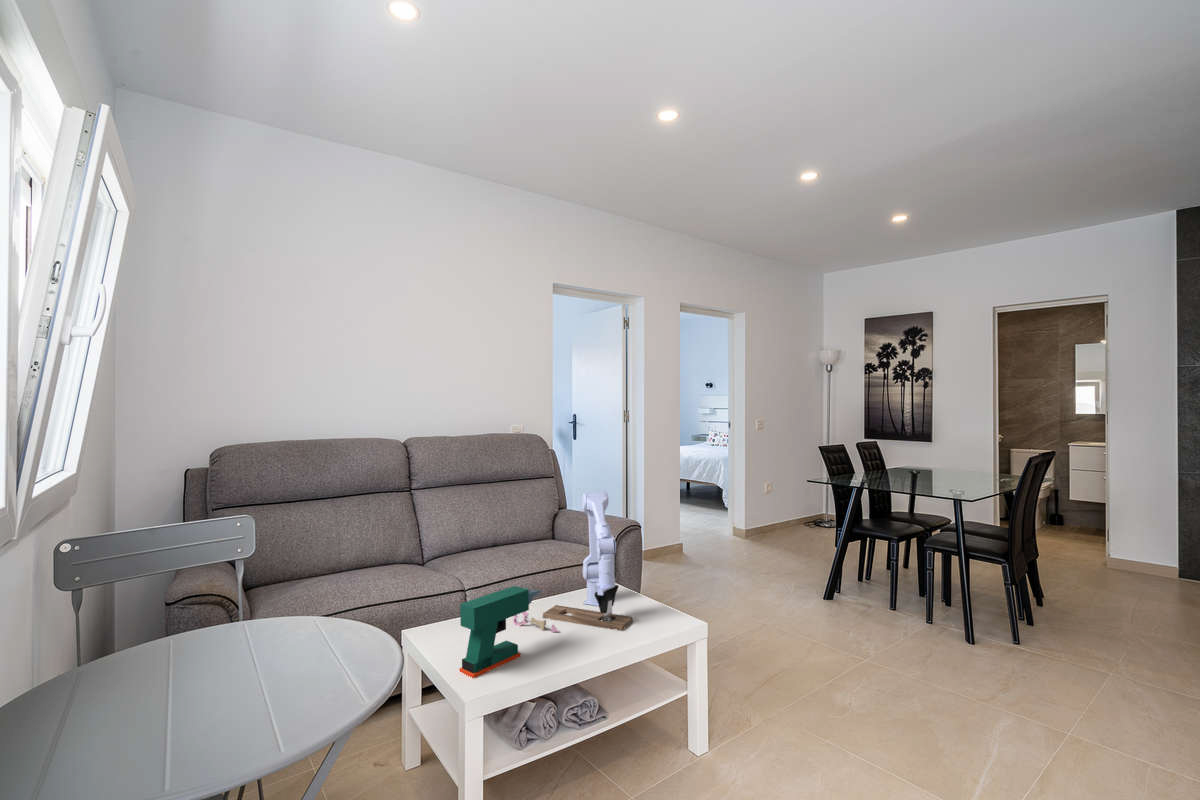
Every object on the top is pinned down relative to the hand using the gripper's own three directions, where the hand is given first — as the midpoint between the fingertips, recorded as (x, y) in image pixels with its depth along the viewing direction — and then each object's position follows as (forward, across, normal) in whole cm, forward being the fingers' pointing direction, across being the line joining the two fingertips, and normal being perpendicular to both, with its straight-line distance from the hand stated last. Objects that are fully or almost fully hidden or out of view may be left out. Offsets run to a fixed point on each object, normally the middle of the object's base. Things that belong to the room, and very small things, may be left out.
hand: (607, 609), depth 207 cm
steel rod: (+5, 0, 0) cm, 5 cm away
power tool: (+5, +36, -21) cm, 42 cm away
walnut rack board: (+5, -1, -8) cm, 9 cm away
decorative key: (+5, +13, -22) cm, 26 cm away
